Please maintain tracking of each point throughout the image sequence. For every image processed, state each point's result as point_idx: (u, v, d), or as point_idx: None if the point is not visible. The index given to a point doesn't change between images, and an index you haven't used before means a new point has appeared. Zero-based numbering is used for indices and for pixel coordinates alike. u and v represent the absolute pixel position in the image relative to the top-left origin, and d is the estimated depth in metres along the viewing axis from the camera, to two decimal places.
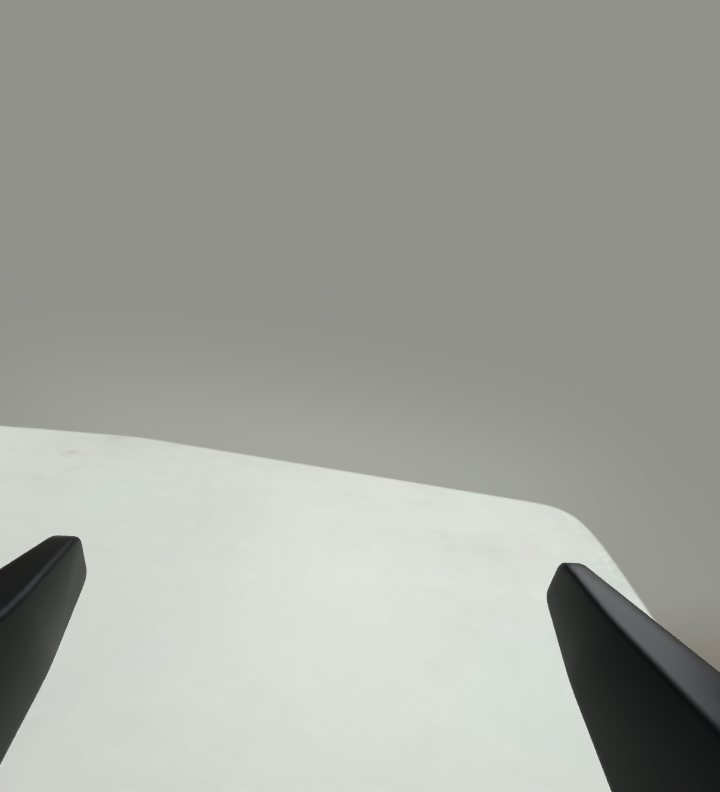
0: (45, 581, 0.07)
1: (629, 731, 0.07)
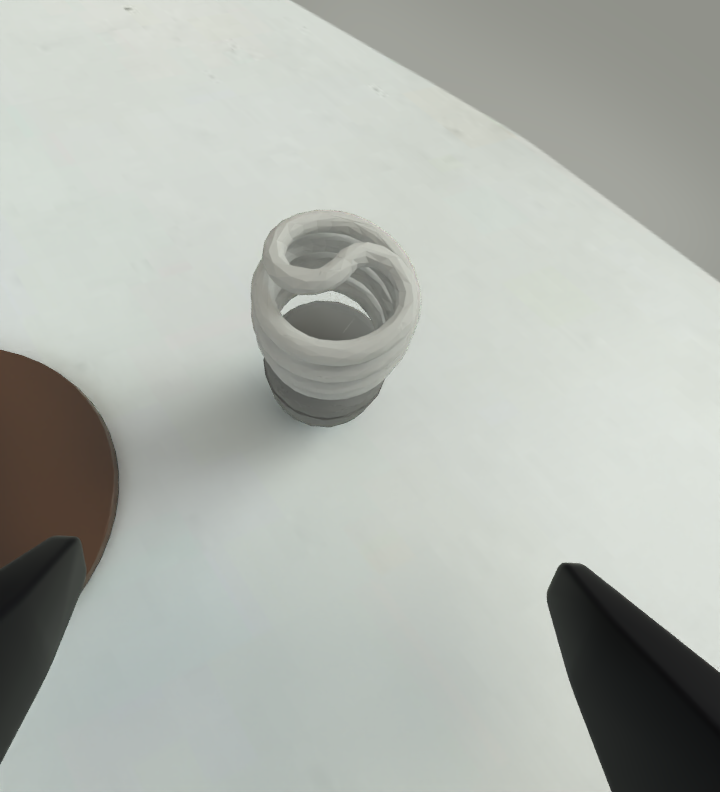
0: (45, 581, 0.07)
1: (629, 732, 0.07)
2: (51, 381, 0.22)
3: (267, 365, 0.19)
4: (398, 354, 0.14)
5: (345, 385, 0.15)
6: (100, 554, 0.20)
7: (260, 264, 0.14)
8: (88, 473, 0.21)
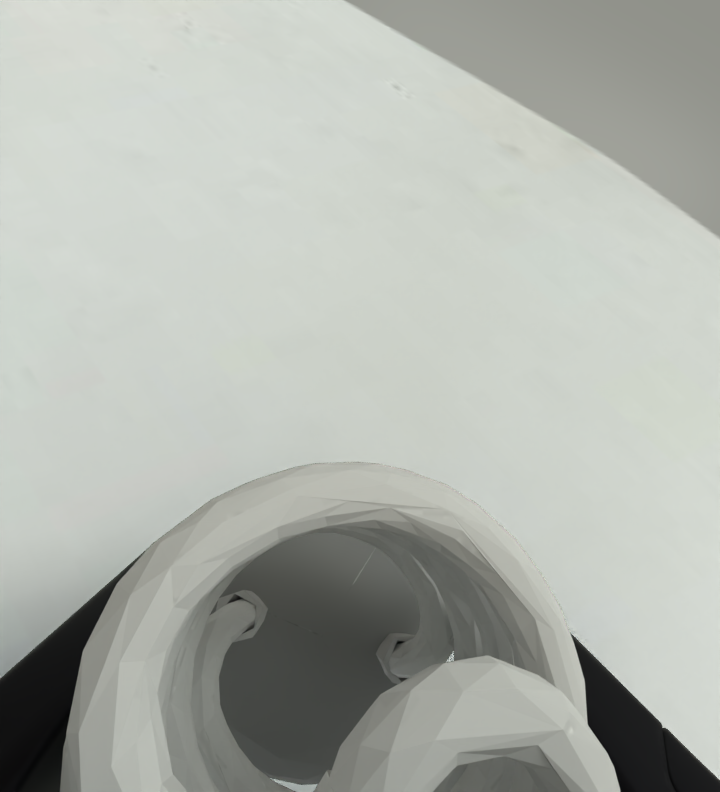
0: None
1: None
2: None
3: None
4: None
5: None
6: None
7: None
8: None
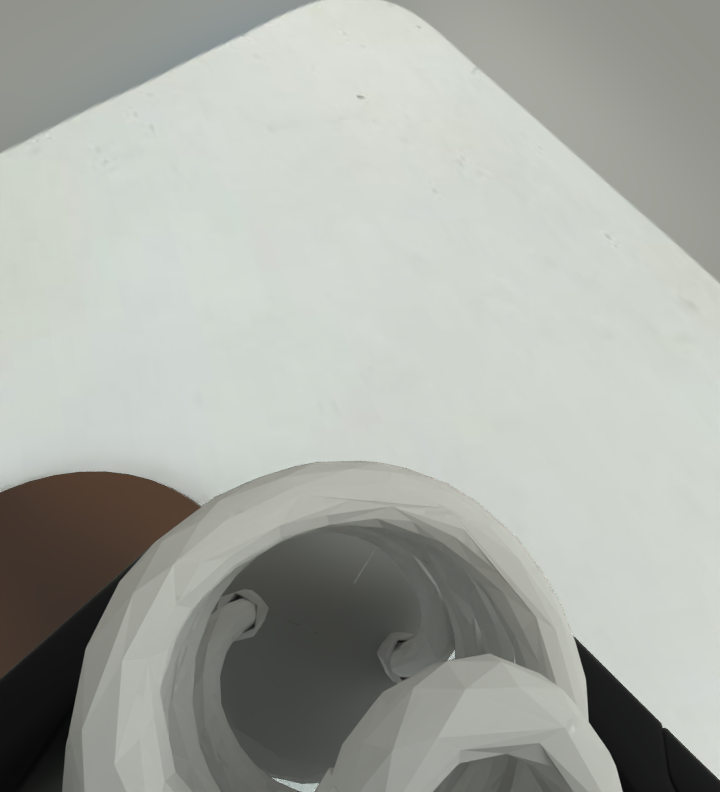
0: None
1: None
2: None
3: None
4: None
5: None
6: None
7: None
8: None
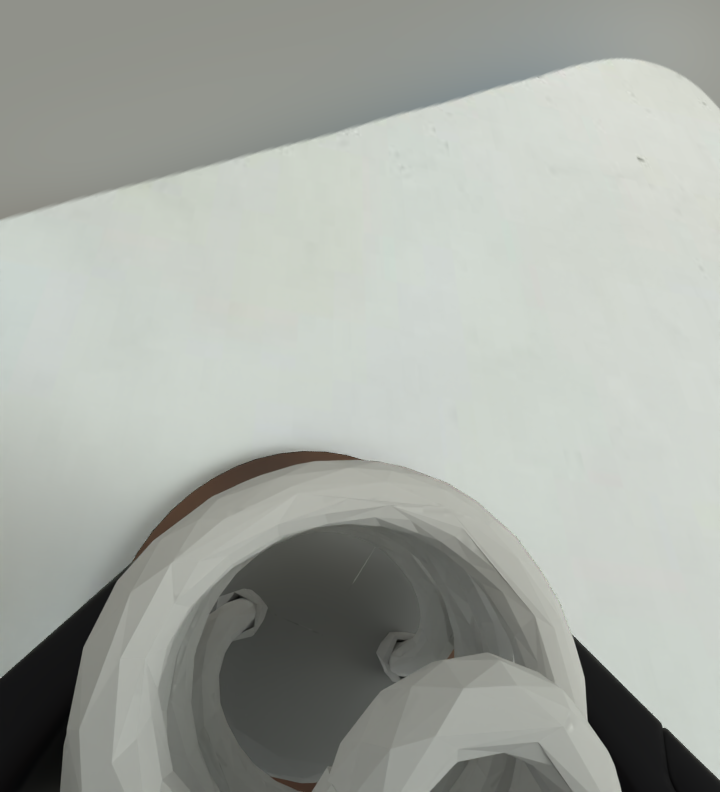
0: None
1: None
2: None
3: None
4: None
5: None
6: None
7: None
8: None
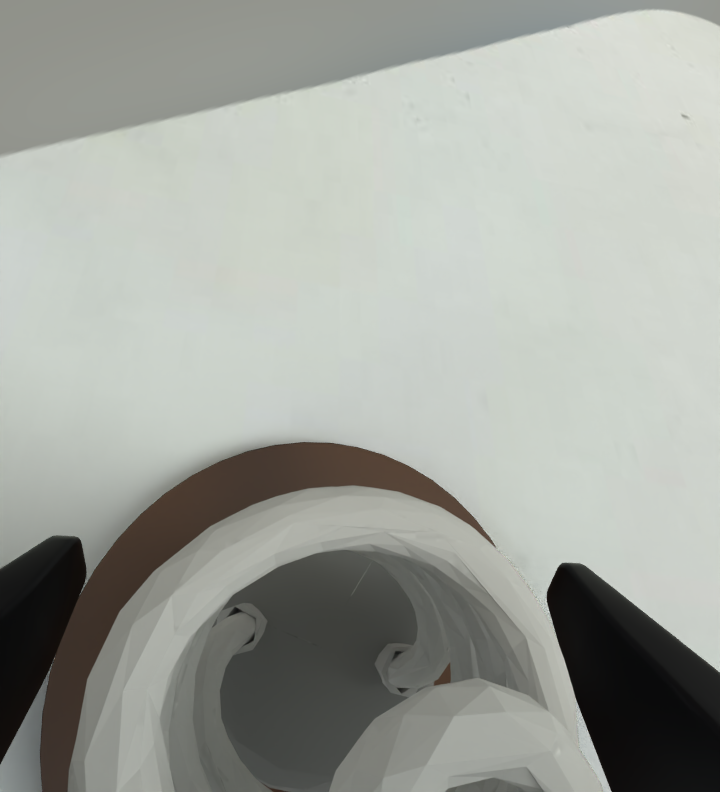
0: (45, 581, 0.07)
1: (628, 731, 0.07)
2: None
3: None
4: None
5: None
6: None
7: None
8: None
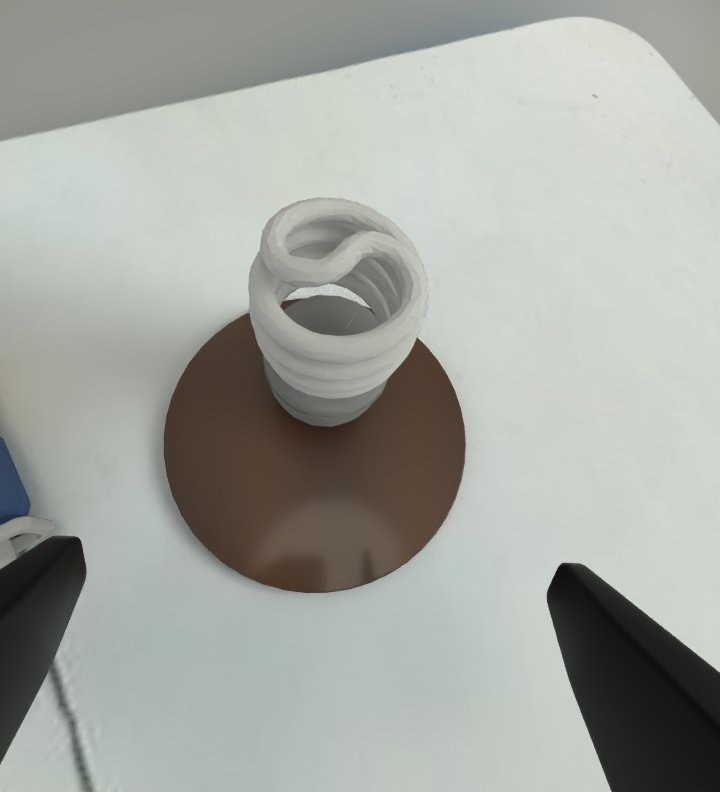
0: (45, 581, 0.07)
1: (629, 732, 0.07)
2: (440, 379, 0.24)
3: (266, 362, 0.18)
4: (405, 350, 0.14)
5: (349, 383, 0.14)
6: None
7: (258, 255, 0.14)
8: (441, 472, 0.23)
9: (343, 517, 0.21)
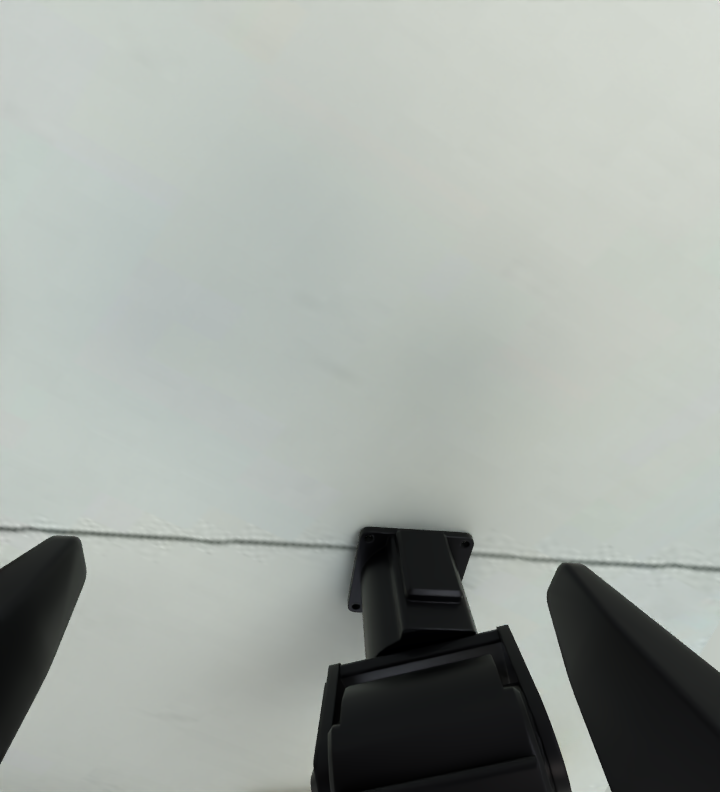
0: (45, 581, 0.07)
1: (629, 731, 0.07)
2: None
3: None
4: None
5: None
6: None
7: None
8: None
9: None
